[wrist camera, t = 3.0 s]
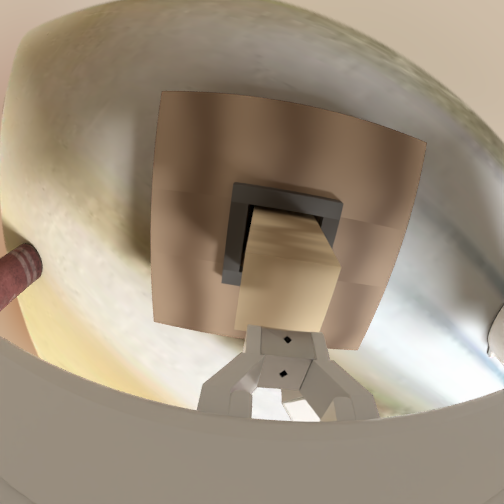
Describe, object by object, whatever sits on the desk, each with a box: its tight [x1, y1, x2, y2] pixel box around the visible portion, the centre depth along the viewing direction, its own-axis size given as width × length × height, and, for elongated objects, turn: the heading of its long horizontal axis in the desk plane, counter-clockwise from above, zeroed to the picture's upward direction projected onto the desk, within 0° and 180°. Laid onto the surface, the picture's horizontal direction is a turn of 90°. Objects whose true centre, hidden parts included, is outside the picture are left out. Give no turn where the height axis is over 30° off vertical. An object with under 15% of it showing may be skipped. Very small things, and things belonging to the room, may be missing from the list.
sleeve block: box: [151, 91, 427, 350], centre depth 23 cm, size 20×20×9 cm
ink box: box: [281, 389, 320, 422], centre depth 29 cm, size 9×5×12 cm, turn 21°
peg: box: [234, 205, 341, 332], centre depth 17 cm, size 4×4×9 cm
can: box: [0, 244, 42, 311], centre depth 26 cm, size 6×6×14 cm
